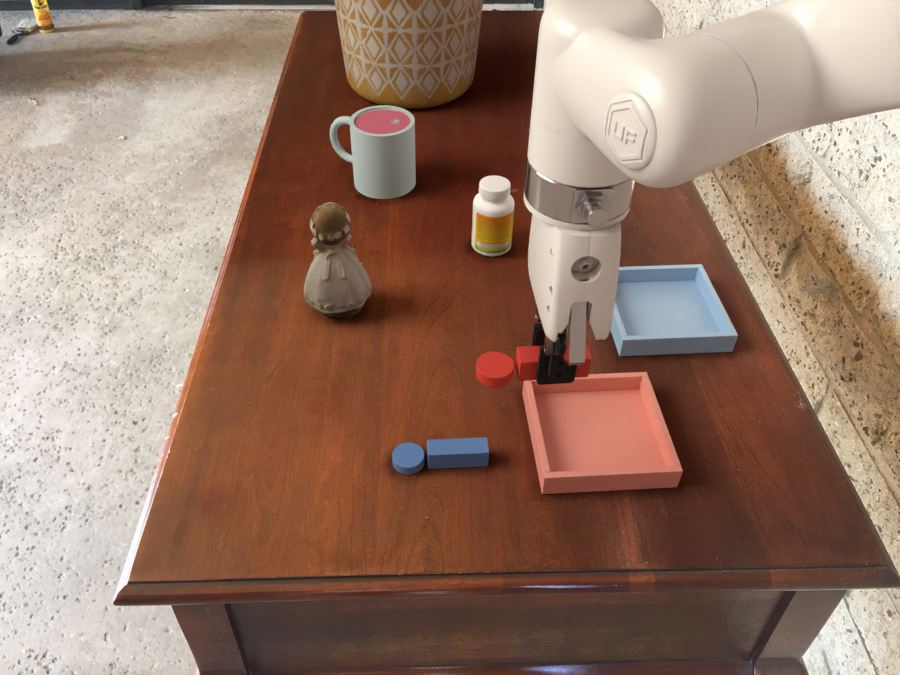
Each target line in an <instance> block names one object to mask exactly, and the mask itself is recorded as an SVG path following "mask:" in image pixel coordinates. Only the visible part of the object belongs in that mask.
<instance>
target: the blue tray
mask: <svg viewBox="0 0 900 675" xmlns="http://www.w3.org/2000/svg"><path fill="white" fill-rule="evenodd" d="M610 333H611V336H612V339H613V342H614V345H615V348H616V350H617V353H618V354H617V355H618V356H619V357H635V356H636V357H637V356H638V357H639V356H661V355H662V356H664V355H685V354H706V353H707V354H709V353H713V354H714V353H733V352H734V348H735V344H736V343H737V340H738V338H739V334H738V332H737V330H736V327H735V326H734V324H733V323H732V320H731V318H730V317H729V315H728V312H727V311H726V309H725V307H724V305H723V302H722V300H721V299H720V297H719V295H718V293H717V291H716V289H715V287H714V285H713V284H712V281H711V279H710V277H709V276H708V273H707V272H706V270H705V268H704V265H703V264H702V263H698V264H693V263H692V264H663V265H662V264H661V265H635V266H634V265H633V266H619V275H618V283H617V291H616V298H615V305H614V311H613V318H612V324H611V330H610Z"/></svg>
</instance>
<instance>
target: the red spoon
mask: <svg viewBox="0 0 900 675" xmlns="http://www.w3.org/2000/svg"><path fill="white" fill-rule="evenodd" d="M539 350H540V346H531V345H525V346H523V345H522V346H517V347H516V351H515V360H513V359H512V358H511V356H510V355H508V354H506V353H504V352H501V351H488V352H485V353H483V354H481V355H480V356H479V357H478V358H477V359H476V362H475V377H476V379H477V381H478V382H479V383H480V384H482V385H484V386H485V387H488V388H493V389H494V388H503V387H506V386H507V385H509V384H510V383H511V382H512V381H513V379H514V374H515V371H516V377H517V380H518V382H524V381H529V380H536V373H537V365H538V357H539ZM591 363H592V357H591V353H590V350H589V347H588V344H587V343H586V345H585V363H584V364H580V365H577V369H576V374H575V378H581V377H588V374H590V369H591Z"/></svg>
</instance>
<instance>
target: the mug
mask: <svg viewBox="0 0 900 675" xmlns="http://www.w3.org/2000/svg"><path fill="white" fill-rule="evenodd" d="M342 125H347V126H349V134H350V147H351V154H350V153H349V152H347V151H346V150H345V149H344V148H343V146H342V145H341V143H340V140H339V137H338V130H339V128H340V127H341V126H342ZM329 140H330V143H331V146H332V148H333V150H334V151H335V152H336V154H337V155H338V156H339V157H340V158H341V159H342V160H343V161H345V162H347V163H350V164H352V174H353V185H354V188H355V190H356V191H357V192H358V193H359V194H361V195H363V196H365V197H367V198H371V199H377V200H391V199H396V198H400V197H403V196H405V195H407V194H409V193H410V192H411V191H412V190H414V188H415V187H416V184H417V175H416V168H417V167H416V120H415V116H414V114H413V113H411V111H409V110H408V109H403V108H400V107H396V106H388V105H379V104H378V105H372V106H368V107H363V108H361V109H359V110H357V111H356V112H354V113H353V114H351V116H350V115H342V116H339V117H336V118H335V119H334V120H333V122H332V123H331V124H330V128H329Z"/></svg>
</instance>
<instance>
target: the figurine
mask: <svg viewBox="0 0 900 675" xmlns="http://www.w3.org/2000/svg"><path fill="white" fill-rule="evenodd" d="M309 228H310V231H311V234H312V235H313V238H312V239H311V240H310V244H311V246H313V248H316V249H314V250H313V252H312V255H313V260H312V262H311V263H310V265H309V268H308V271H307V273H306V277H305V281H304V284H303V297H304V301H305V302H306V304H308V305H310V306H311V307H312V308H314V309H315V310H317V311H319V312H320V313H321V314H322V315H323V316H324V317H325V316H326V317H327V318H331V319H343V320H344V319H349V318H351V317H355V316H356V315H357V314H359V313H360V312H361V311H362V308H363V307H364V306H365V303H366V301H367V300H368V298H369V297H370V296H371V294H372V290H373V284H372V282H371V279H370V277H369V274H368V273H367V271H366V269H365V267H364V266H363V265H362V263H361V261H360V260H359V258H358V256H357V249H356V248H353V247H350V246H349V245H348V244H349V242H350V241H351V239H352V235H351V233H350V232H351V230H352V224H351V217H350V214H349V213H348V211H347V210H346V209H345V207H344V206H342V205H340V204H338V203H336V202H332V201H329V202H325V203H322V204H321V205H319V206H317V207H316V208H315V210H314V212H313V213H312V215H311V216H310V220H309Z"/></svg>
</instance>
